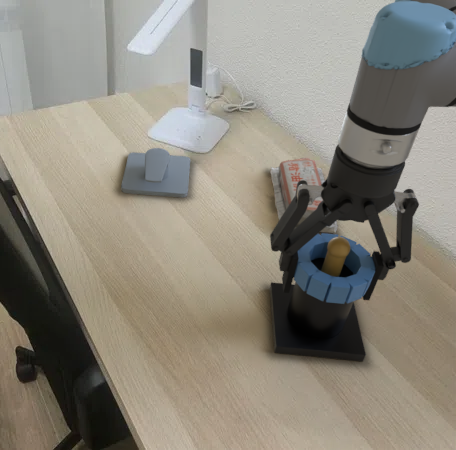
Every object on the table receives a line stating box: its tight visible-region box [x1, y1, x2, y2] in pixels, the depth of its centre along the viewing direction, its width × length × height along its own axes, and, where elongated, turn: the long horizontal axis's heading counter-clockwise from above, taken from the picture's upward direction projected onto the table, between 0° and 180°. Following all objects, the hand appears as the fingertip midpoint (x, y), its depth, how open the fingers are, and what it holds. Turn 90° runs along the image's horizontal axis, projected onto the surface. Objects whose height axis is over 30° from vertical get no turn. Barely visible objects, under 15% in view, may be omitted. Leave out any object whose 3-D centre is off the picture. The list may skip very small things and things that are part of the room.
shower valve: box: [120, 147, 191, 199], centre depth 104 cm, size 12×6×15 cm
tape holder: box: [269, 236, 367, 362], centre depth 75 cm, size 12×12×16 cm
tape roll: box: [293, 232, 376, 304], centre depth 73 cm, size 10×10×3 cm
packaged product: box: [270, 157, 339, 234], centre depth 100 cm, size 18×5×10 cm
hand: (324, 289), depth 75 cm, fingers closed on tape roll, 10 cm apart
